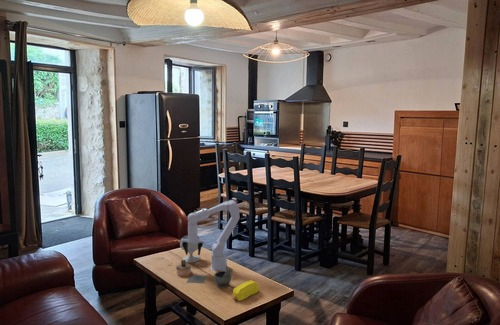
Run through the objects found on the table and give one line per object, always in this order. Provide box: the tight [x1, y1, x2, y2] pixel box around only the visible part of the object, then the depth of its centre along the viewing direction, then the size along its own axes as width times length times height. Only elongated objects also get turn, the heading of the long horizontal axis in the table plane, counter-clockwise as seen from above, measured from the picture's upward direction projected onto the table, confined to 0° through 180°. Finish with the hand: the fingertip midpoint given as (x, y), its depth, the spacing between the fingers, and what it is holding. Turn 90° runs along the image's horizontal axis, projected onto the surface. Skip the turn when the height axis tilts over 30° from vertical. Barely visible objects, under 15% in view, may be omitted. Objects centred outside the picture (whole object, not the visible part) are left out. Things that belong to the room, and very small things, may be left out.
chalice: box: [179, 234, 201, 264], centre depth 250 cm, size 14×14×15 cm
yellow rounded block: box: [232, 279, 260, 302], centre depth 201 cm, size 18×7×8 cm
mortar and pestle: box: [213, 267, 233, 289], centre depth 211 cm, size 11×9×12 cm
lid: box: [175, 259, 192, 270], centre depth 228 cm, size 9×9×4 cm
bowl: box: [175, 267, 192, 277], centre depth 229 cm, size 8×8×4 cm
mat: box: [186, 274, 208, 284], centre depth 220 cm, size 10×10×1 cm
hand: (192, 254), depth 232 cm, fingers open, 7 cm apart
